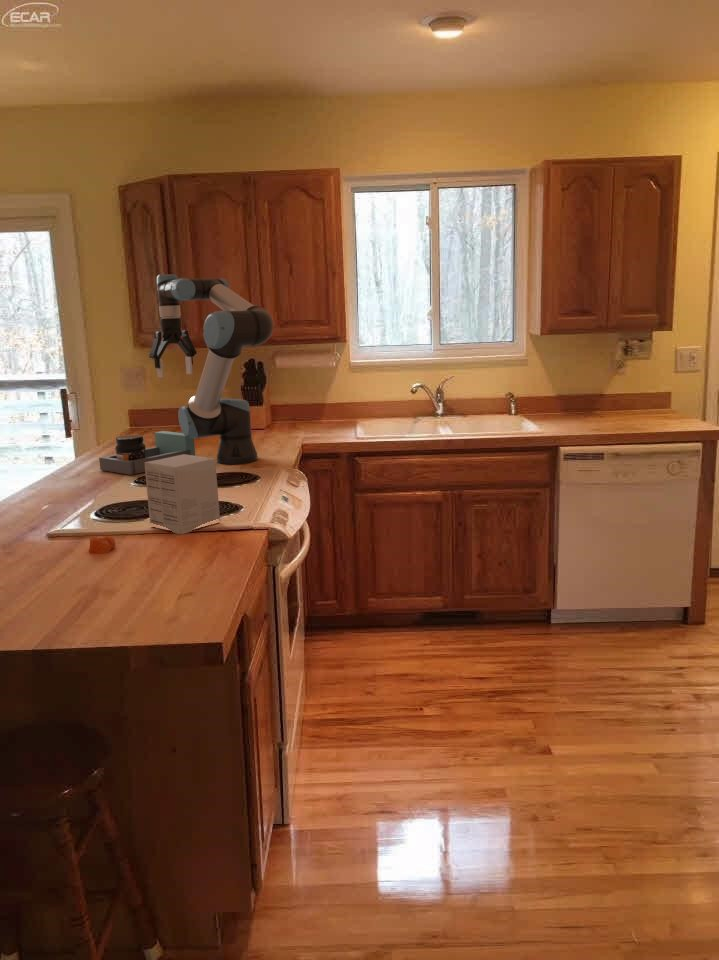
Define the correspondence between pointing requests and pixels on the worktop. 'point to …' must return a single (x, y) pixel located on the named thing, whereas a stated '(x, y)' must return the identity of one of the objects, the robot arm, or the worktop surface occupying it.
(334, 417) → the worktop surface
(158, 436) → the gray open tray
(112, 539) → the rock
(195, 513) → the supplement box
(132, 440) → the supplement container
